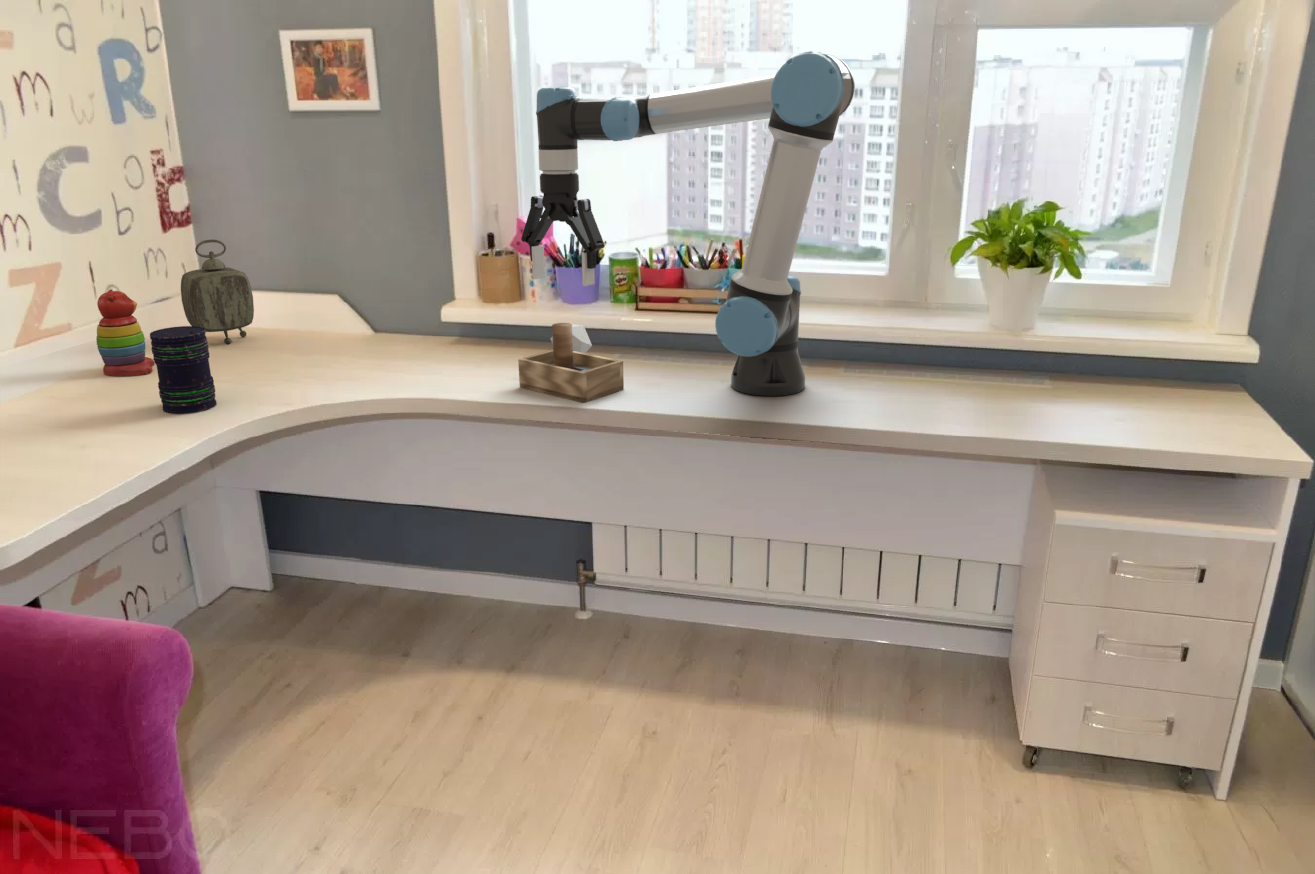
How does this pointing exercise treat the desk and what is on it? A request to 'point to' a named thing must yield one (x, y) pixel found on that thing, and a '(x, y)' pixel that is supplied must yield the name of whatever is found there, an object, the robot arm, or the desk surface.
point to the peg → (563, 345)
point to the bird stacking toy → (121, 337)
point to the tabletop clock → (217, 296)
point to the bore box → (572, 376)
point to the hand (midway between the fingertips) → (563, 281)
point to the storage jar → (183, 369)
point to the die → (579, 339)
